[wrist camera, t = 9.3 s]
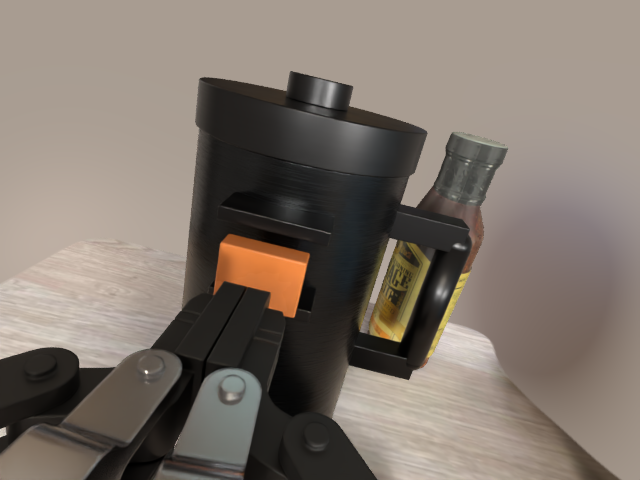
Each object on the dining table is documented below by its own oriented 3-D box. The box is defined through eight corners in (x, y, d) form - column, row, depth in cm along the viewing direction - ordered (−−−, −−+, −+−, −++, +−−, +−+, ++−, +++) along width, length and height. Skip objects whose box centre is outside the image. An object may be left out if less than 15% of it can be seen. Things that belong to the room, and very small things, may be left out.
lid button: (212, 299, 14) (219, 242, 13) (221, 286, 15) (228, 232, 14) (294, 319, 14) (307, 264, 13) (298, 305, 15) (310, 252, 14)
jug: (120, 468, 20) (131, 32, 12) (207, 329, 32) (243, 59, 24) (405, 539, 20) (606, 148, 12) (388, 374, 32) (485, 118, 24)
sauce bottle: (362, 323, 38) (427, 122, 31) (423, 338, 38) (503, 141, 30) (363, 367, 32) (444, 131, 24) (435, 385, 32) (538, 154, 24)
